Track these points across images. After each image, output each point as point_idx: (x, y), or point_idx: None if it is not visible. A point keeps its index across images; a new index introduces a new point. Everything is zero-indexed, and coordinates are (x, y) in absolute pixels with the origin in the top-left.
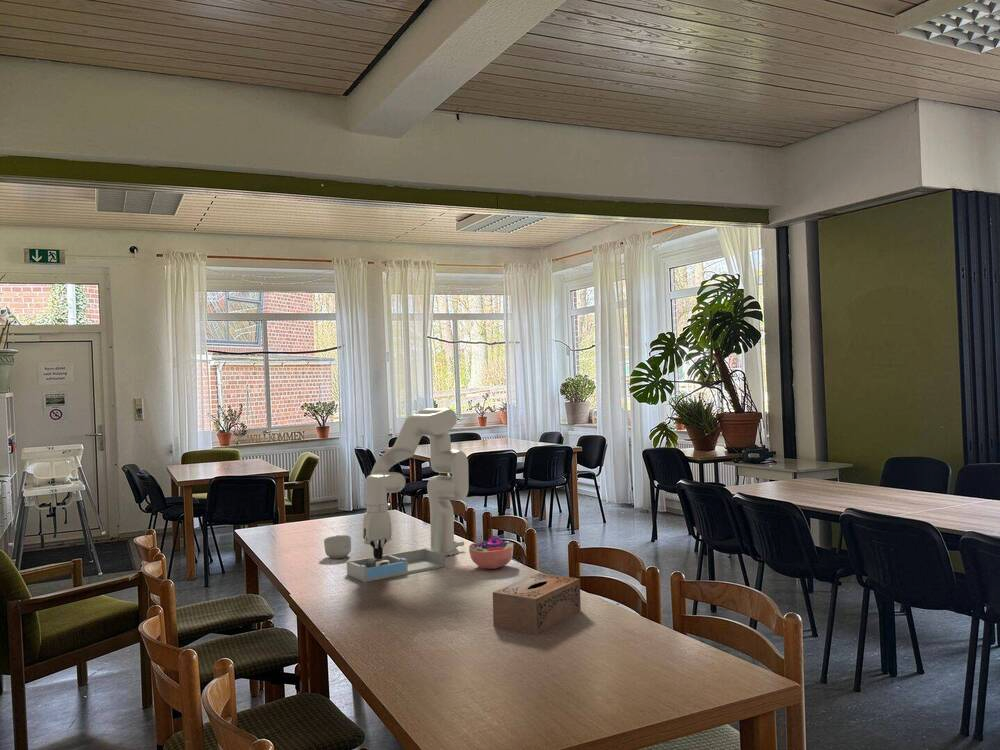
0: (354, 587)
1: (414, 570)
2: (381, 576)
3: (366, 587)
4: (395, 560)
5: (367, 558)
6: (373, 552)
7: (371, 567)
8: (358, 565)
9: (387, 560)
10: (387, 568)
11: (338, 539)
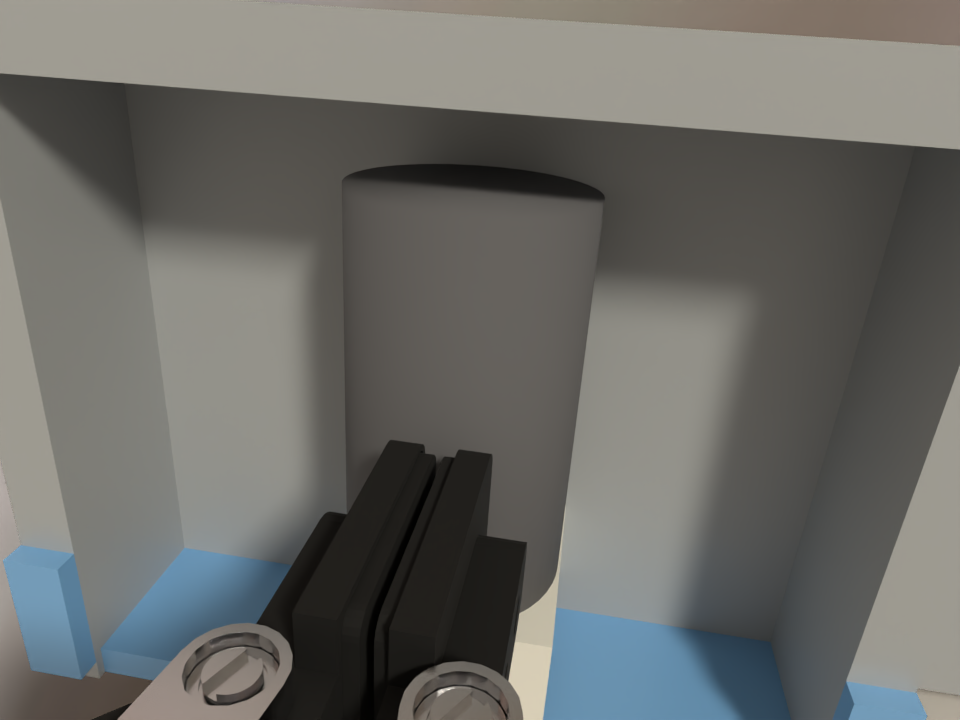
0: (8, 619)
1: (936, 684)
2: None
3: (113, 699)
4: (885, 494)
5: (386, 103)
6: (297, 558)
7: None
8: (24, 466)
9: (532, 688)
10: None
11: None
